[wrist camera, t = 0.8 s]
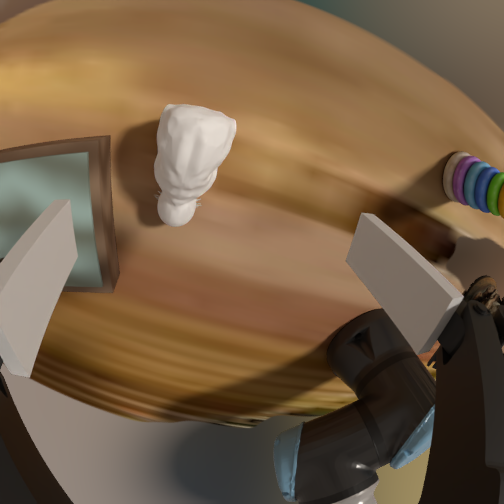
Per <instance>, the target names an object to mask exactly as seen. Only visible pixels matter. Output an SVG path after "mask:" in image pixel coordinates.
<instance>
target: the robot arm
mask: <svg viewBox="0 0 504 504" xmlns="http://www.w3.org/2000/svg"><path fill="white" fill-rule="evenodd" d="M77 258H78V254H77V248H76V242H75V235H74V228H73V220H72V212H71V203H70V199H62V200H54V201H53V202H52V203H51V204H50V205H49V206H48V207H47V208H46V209H45V210H44V212H43V213H42V214H41V215H40V216H39V217H38V218H37V219H36V220H35V221H34V223H33V224H32V225H31V226H30V227H29V228H28V229H27V231H26V232H25V233H24V234H23V235H22V236H21V238H20V239H19V240H18V241H17V243H16V244H15V245H14V246H13V248H12V249H11V250H10V251H9V253H8V254H7V255H6V256H5V258H1V259H0V369H1V366H2V363H3V362H4V364H5V366H6V367H7V369H8V370H9V372H10V373H11V374H14V375H19V376H23V377H28V378H30V375H31V372H32V369H33V365H34V362H35V359H36V356H37V353H38V350H39V347H40V344H41V341H42V339H43V336H44V333H45V330H46V328H47V325H48V323H49V320H50V317H51V315H52V313H53V310H54V308H55V305H56V303H57V301H58V298H59V296H60V294H61V291H62V289H63V287H64V285H65V283H66V280H67V278H68V276H69V274H70V272H71V270H72V268H73V266H74V264H75V262H76V260H77ZM346 262H347V263H348V264H349V266H350V267H351V268H352V269H353V271H354V272H355V273H356V274H357V276H358V277H359V278H360V279H361V281H362V282H363V283H364V284H365V286H366V287H367V288H368V290H369V291H370V292H371V293H372V295H373V296H374V297H375V299H376V300H377V301H378V302H379V304H380V305H381V306H382V308H383V309H377V310H373V311H370V312H368V313H365V314H363V315H361V316H359V317H358V318H356V319H354V320H353V321H351V322H350V323H349V324H347V325H346V326H345V327H344V328H343V329H342V330H341V331H340V332H339V333H338V334H337V335H336V336H335V338H334V339H333V340H332V342H331V344H330V346H329V348H328V351H327V361H328V364H329V366H330V368H331V370H332V371H333V373H334V374H335V375H336V376H338V377H339V378H340V379H341V380H342V381H343V382H344V383H345V384H346V385H348V386H349V387H350V388H351V389H352V390H353V391H354V392H355V394H356V396H357V398H358V399H359V400H357V401H355V402H353V403H350V404H348V405H346V406H344V407H342V408H339V409H337V410H335V411H333V412H330V413H328V414H326V415H323V416H321V417H318V418H316V419H313V420H311V421H308V422H302V423H301V424H300V425H298V426H295V427H293V428H290V429H288V430H285V431H283V432H281V433H280V434H279V435H278V436H277V437H276V439H275V442H274V464H275V471H276V476H277V481H278V484H279V487H280V490H281V491H282V494H283V497H284V499H285V500H287V501H292V502H295V501H296V500H297V501H298V502H299V504H377V502H376V500H375V497H374V495H373V493H374V490H375V487H376V486H377V484H378V483H379V478H378V476H377V473H376V469H378V468H380V467H382V466H384V465H386V464H388V463H390V466H391V467H393V468H394V469H398V468H400V467H402V466H404V465H405V464H408V463H409V462H411V461H412V460H414V459H415V458H417V457H418V456H419V455H421V454H422V453H423V452H424V451H426V450H427V449H428V448H429V447H430V446H431V447H430V454H429V460H428V466H427V471H426V476H425V481H424V486H423V491H422V495H421V498H420V501H419V503H418V504H504V354H503V352H502V346H503V345H504V305H500V306H499V307H498V309H497V310H496V312H495V314H491V312H490V310H489V309H488V308H487V307H486V306H485V305H484V304H482V303H480V302H478V301H476V300H470V301H468V303H466V302H465V300H464V299H463V298H464V296H463V295H462V294H461V293H460V292H459V291H458V290H457V289H456V288H455V287H454V286H453V285H452V284H451V283H450V282H449V281H448V280H447V279H446V278H445V277H444V276H443V275H442V274H441V273H440V272H439V271H438V270H437V269H435V268H434V267H433V266H432V265H431V264H430V263H429V262H428V261H427V260H426V259H425V258H424V257H423V256H422V255H420V254H419V253H418V252H417V251H416V250H415V249H414V248H413V247H412V246H410V245H409V244H408V243H407V242H406V241H405V240H404V239H402V238H401V237H400V236H399V235H398V234H397V233H395V232H394V231H393V230H392V229H391V228H390V227H388V226H387V225H386V224H385V223H384V222H382V221H381V220H380V219H379V218H377V217H376V216H375V215H374V214H368V213H361V216H360V219H359V222H358V225H357V228H356V231H355V235H354V238H353V241H352V244H351V247H350V250H349V252H348V255H347V258H346ZM437 340H438V341H439V343H440V344H441V345H440V346H439V348H438V349H437V351H436V352H435V353H434V355H433V356H432V357H431V359H430V360H429V361H428V364H427V366H430V365H431V363H432V362H433V361H436V363H435V364H434V365H433V367H432V368H434V369H436V381H435V379H434V378H433V377H432V375H431V374H430V373H429V371H428V370H427V368H426V367H425V366H424V364H423V363H422V362H421V360H420V359H419V358H418V356H417V355H419V354H422V353H425V352H428V351H430V349H431V348H432V347H433V345H434V344H435V342H436V341H437ZM413 350H414V351H415V352H414V351H413ZM415 353H416V354H417V355H416V354H415ZM0 504H74V503H73V502H72V501H71V500H70V498H69V497H68V496H67V494H66V493H65V492H64V490H63V489H62V487H61V486H60V485H59V483H58V481H57V480H56V479H55V477H54V476H53V474H52V473H51V471H50V470H49V468H48V466H47V465H46V463H45V462H44V460H43V458H42V457H41V455H40V453H39V451H38V450H37V448H36V446H35V444H34V442H33V441H32V439H31V437H30V435H29V433H28V431H27V429H26V427H25V425H24V423H23V421H22V419H21V417H20V415H19V413H18V411H17V408H16V406H15V404H14V402H13V399H12V397H11V394H10V392H9V389H8V387H7V384H6V382H5V379H4V377H3V375H2V374H1V372H0Z"/></svg>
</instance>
